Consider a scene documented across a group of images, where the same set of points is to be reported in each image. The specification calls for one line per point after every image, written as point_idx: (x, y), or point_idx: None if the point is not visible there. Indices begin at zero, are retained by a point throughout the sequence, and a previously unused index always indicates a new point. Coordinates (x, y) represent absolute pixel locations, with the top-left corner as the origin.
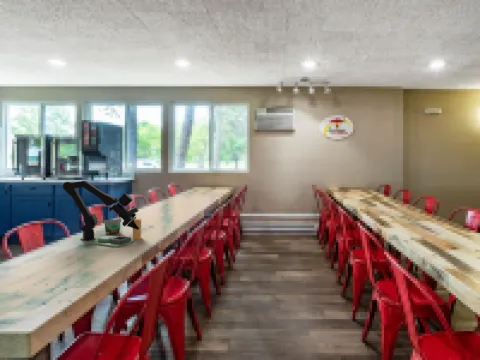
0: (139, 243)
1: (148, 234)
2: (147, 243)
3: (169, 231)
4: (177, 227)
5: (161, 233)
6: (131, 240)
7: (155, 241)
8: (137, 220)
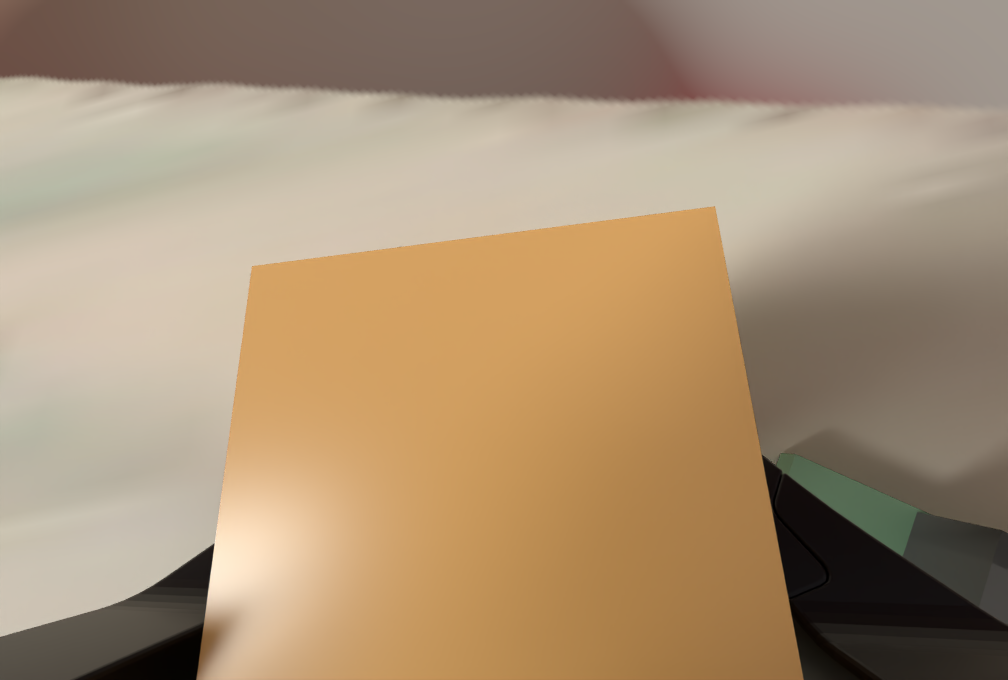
0: (904, 340)
1: None
2: (881, 217)
3: (222, 116)
4: (72, 87)
5: (299, 176)
6: (849, 507)
7: (737, 140)
8: (739, 401)
